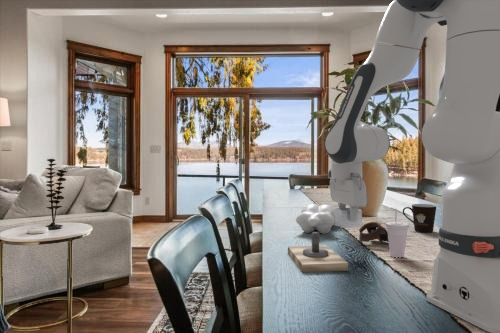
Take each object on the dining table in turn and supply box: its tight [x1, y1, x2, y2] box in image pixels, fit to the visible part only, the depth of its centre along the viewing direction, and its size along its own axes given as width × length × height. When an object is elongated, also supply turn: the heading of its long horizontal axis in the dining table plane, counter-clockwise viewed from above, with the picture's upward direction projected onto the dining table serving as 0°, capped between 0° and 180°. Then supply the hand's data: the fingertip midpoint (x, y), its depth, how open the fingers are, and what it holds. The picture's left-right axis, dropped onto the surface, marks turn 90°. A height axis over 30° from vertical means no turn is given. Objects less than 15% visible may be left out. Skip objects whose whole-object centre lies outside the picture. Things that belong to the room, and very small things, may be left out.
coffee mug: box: [402, 203, 438, 234], centre depth 143 cm, size 12×9×10 cm
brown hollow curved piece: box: [358, 221, 389, 245], centre depth 123 cm, size 12×10×8 cm
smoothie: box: [385, 208, 410, 259], centre depth 107 cm, size 6×6×14 cm
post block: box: [287, 231, 349, 273], centre depth 102 cm, size 18×12×8 cm, turn 6°
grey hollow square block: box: [334, 207, 363, 229], centre depth 109 cm, size 6×6×5 cm
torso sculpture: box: [295, 203, 336, 234], centre depth 144 cm, size 16×11×30 cm
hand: (348, 219), depth 109 cm, fingers closed on grey hollow square block, 6 cm apart
